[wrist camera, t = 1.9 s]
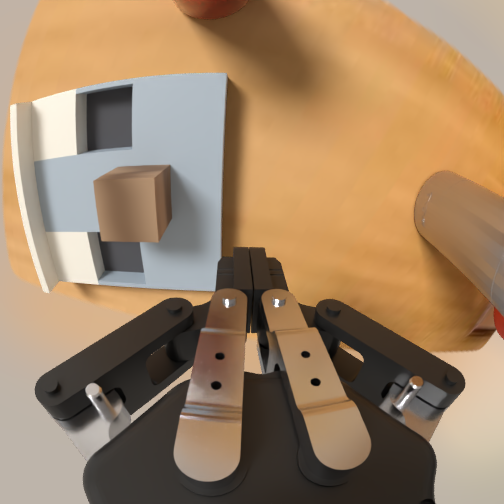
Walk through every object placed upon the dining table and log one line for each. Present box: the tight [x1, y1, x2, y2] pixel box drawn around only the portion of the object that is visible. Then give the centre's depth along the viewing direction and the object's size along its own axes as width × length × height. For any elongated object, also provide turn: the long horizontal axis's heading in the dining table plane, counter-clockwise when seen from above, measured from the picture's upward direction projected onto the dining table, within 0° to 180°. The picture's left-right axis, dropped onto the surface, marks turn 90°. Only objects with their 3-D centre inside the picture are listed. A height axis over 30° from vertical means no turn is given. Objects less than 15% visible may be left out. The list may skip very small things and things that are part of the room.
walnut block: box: [93, 165, 172, 243], centre depth 21 cm, size 5×5×5 cm
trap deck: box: [32, 73, 228, 291], centre depth 24 cm, size 21×21×2 cm
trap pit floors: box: [87, 86, 144, 273], centre depth 25 cm, size 6×20×1 cm, turn 177°
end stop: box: [10, 102, 59, 293], centre depth 21 cm, size 1×21×2 cm, turn 177°
